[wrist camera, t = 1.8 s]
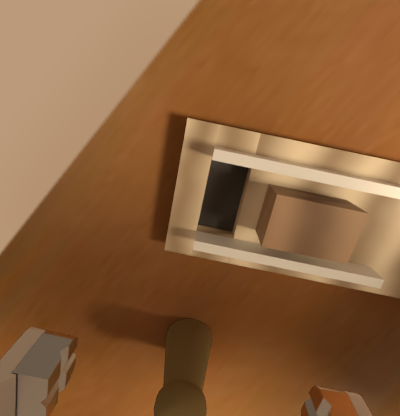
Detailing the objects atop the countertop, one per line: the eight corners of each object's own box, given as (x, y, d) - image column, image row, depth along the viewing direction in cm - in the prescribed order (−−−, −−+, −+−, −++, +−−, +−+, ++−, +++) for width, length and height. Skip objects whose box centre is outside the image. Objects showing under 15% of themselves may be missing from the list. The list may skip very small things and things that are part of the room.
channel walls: (407, 186, 26) (426, 193, 24) (366, 274, 29) (380, 288, 27) (214, 145, 26) (214, 148, 24) (194, 239, 29) (192, 249, 27)
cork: (165, 352, 37) (145, 445, 26) (167, 316, 35) (146, 399, 24) (209, 357, 37) (207, 452, 26) (214, 321, 35) (213, 407, 24)
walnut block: (347, 200, 27) (369, 213, 23) (329, 244, 28) (347, 264, 25) (268, 183, 27) (277, 194, 23) (255, 229, 28) (261, 246, 25)
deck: (517, 187, 28) (540, 192, 26) (450, 300, 32) (465, 311, 30) (189, 118, 27) (187, 117, 25) (167, 242, 32) (164, 250, 30)
